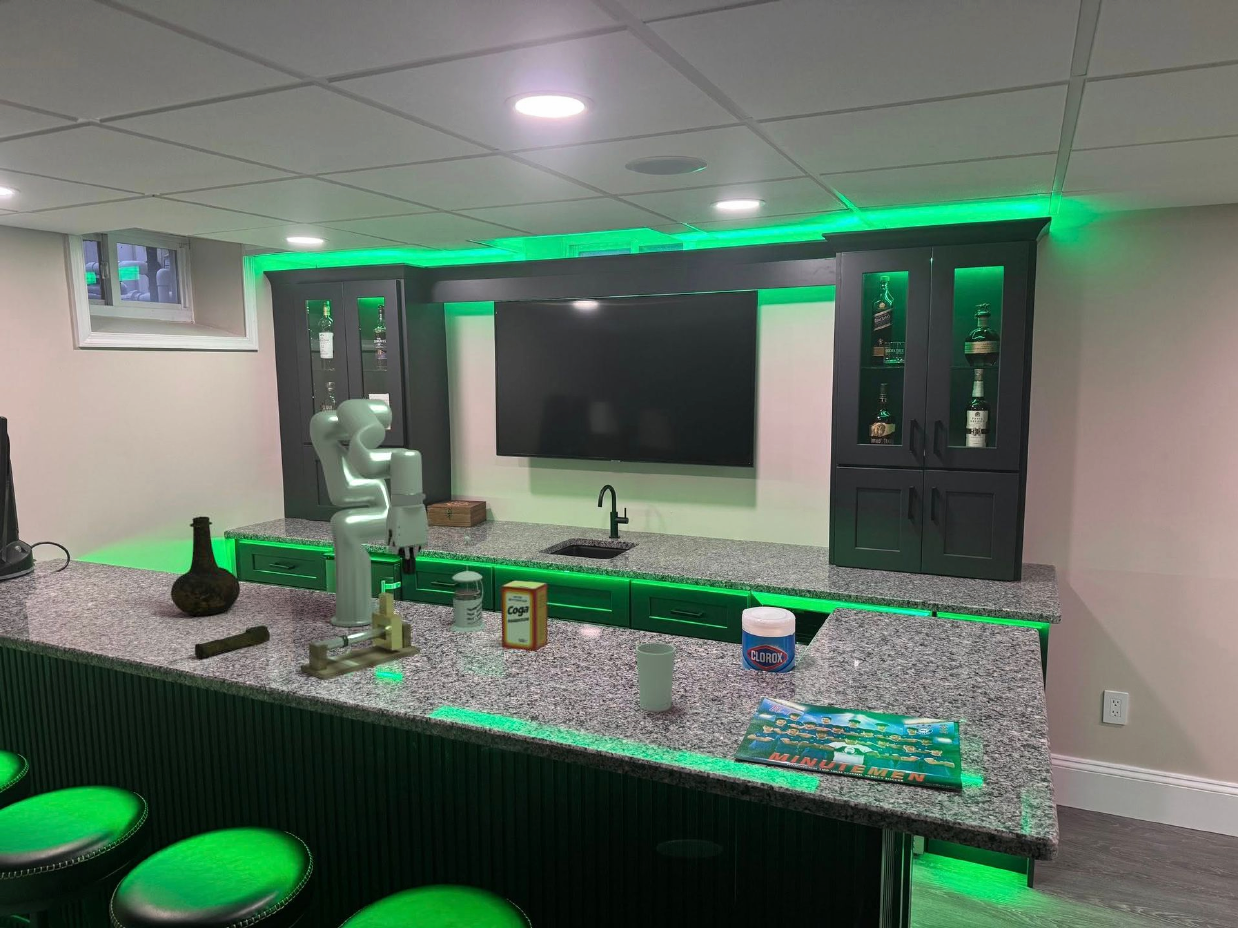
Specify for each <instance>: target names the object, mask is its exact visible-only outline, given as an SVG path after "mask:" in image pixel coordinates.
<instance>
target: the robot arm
mask: <svg viewBox="0 0 1238 928" xmlns="http://www.w3.org/2000/svg"><path fill="white" fill-rule="evenodd" d="M392 421H393V413H392V408H391V407H390V405H389V404H388V403H387V402H386V401H385V400H382V399H378V398H366V399H365V398H358V399H357V398H353V399H347V400H344V401H343V402H341V403H340V404H339V405H338V407H336V409H330V410H324V411H323V410H322V411H320V412H317V413H315V414H314V415H313V416H312V417H311V419H310V423H309V436H310V440H311V443H312V446H313V448H314V450H315V452H316V454H317V456H318V458H319V461H320V462H321V465H322V470H323V474H324V479H325V484H326V489H327V493H328V497H329V499H330V502H331V503H332V505H334V506H336V507H340V508H342V507H343V508H344V507H357V506H359V507H358V508H348V509H342V510H339V511H337V512H336V513H334V514H333V515H332V517H331V518H330V522H329V525H330V526H329V528H330V534H331V538H332V544H333V552H334V553H333V554H334V574H335V575H334V577H335V605H336V606H335V610H336V613H335V615H334V616H332V617H331V618H330V624H331V625H333V626H336V627H342V628H345V627H346V628H347V627H348V628H351V627H363V626H368V625H372V613H373V612H378V611H379V603H377V602H373V600H372V566H371V565H372V564H371V563H372V561H371V557H370V556H371V555H370V554H369V552H368V551H367V549H365V548H364V547H363V545H362V544H363V543H367V542H376V541H385V545H386V546H388V552H389V553H391V554H392V553H393V554H396V555H398V556H399V558H400V559H401V571H402V574H403V575H407V576H412V575H416V573H417V570H416V569H417V568H416V567H417V561H416V560H417V558H418V557H419V553H420V552H421V550H424V549H426V548H427V547H428V542H429V536H430V535H429V532H430V531H429V522H428V521H429V520H428V513H427V510H426V506H425V504H424V503H423V502H424V500H425V499H426V497H427V496H426V494H425V493H423V469H422V467H423V466H422V455H421V452H420V451H418V450H416V449H415V450H413V449H407V448H403V447H402V448H400V447H398V448H396V447H395V448H378V447H379V446H380V445H381V444H382V443H383V442H384V440H385V437H386V430H387V429H388V428H389V427H390V426H391V424H392ZM339 441H349V445H348V450H347V449H346V447H344V445H342V444H341V443H340V442H339ZM385 479H390V493H389V489H388V487H387V483H386V481H385ZM360 506H368V507H360Z"/></svg>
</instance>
